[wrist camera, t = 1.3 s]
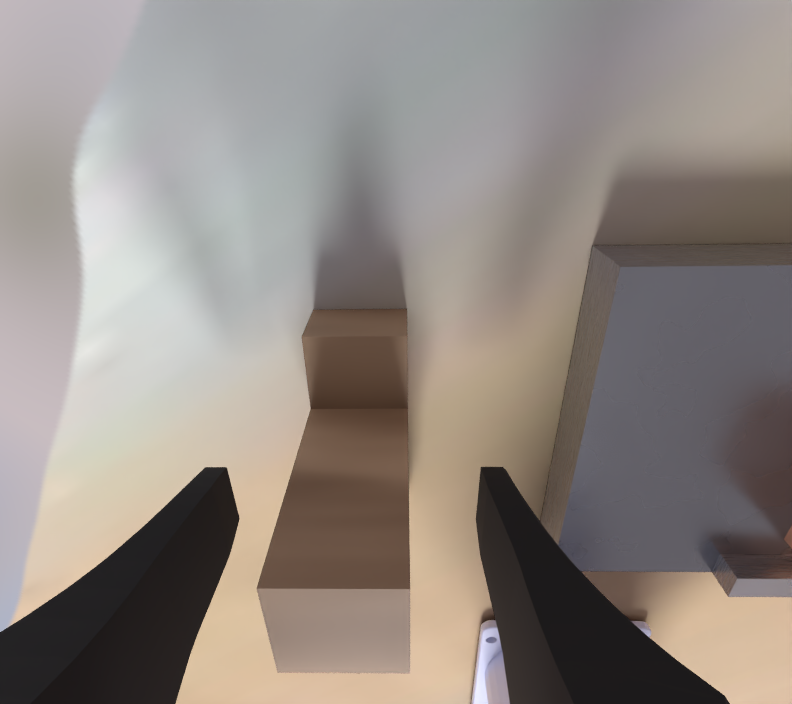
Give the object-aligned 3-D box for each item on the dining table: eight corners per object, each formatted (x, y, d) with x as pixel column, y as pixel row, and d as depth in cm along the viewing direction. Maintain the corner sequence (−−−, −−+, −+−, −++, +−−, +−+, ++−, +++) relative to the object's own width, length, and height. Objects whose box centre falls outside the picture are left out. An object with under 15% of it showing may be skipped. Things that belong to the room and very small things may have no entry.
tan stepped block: (407, 491, 19) (409, 728, 12) (333, 491, 19) (291, 726, 12) (406, 308, 15) (409, 495, 8) (313, 309, 15) (232, 495, 8)
